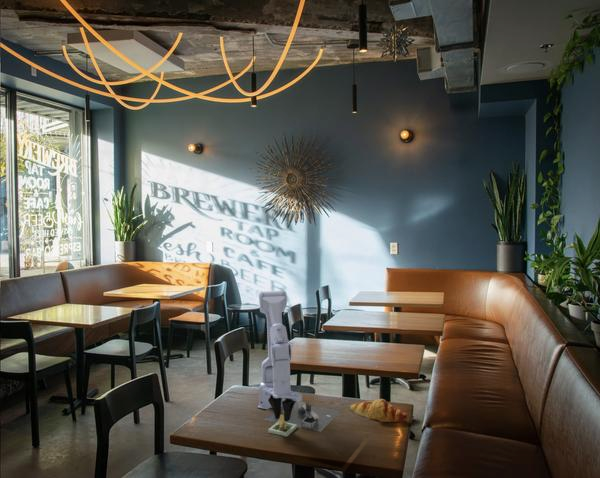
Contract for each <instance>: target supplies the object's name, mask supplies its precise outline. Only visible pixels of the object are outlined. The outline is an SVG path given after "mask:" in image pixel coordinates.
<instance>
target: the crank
mask: <svg viewBox="0 0 600 478" xmlns="http://www.w3.org/2000/svg"><path fill="white" fill-rule="evenodd" d="M297 403H298V402H297ZM311 405H312V404H310V403H309V402H303V401H301V402H299V403H298V412H307V413H308V414H309V415H310V416H311V417H312V418H313V419H319V416H318V415H317V414H315V413H314V412H313V411H312V410H311Z"/></svg>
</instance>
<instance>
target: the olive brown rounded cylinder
mask: <svg viewBox="0 0 600 478" xmlns="http://www.w3.org/2000/svg"><path fill="white" fill-rule="evenodd" d="M286 425H287V422H286V421H285V419H284V411H281V412H280V415H279V420H278V424H277V428H276V429H275V430H279V431H284V432H286V429H287V427H286Z"/></svg>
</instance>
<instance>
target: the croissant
mask: <svg viewBox="0 0 600 478" xmlns="http://www.w3.org/2000/svg"><path fill="white" fill-rule="evenodd" d="M350 410H351V411H352V412H353V413H355V414H356V415H359V416H361V417H365V418H367V419H369V420H377V421H378V423H385V422H386V423H387V422H389V423H394V422H395V423H397V422H402V421H404V420H406V419H407V418H408V414H407V412H403V411H402V410H401V409H399V408H396V407H394V406H393V404H392V403H389V402H387V400H386V399H383V398H379V399H376V400H365V401H362V402H357V403H354V404H351V405H350Z"/></svg>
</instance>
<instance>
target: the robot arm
mask: <svg viewBox="0 0 600 478" xmlns="http://www.w3.org/2000/svg"><path fill="white" fill-rule="evenodd" d="M258 297H259V298H258V299H259V300H258V301H259V311H260V313H261V314H264V315H265V317H266V328H267V329H266V331H267V332H266V334H267V335H266V336H267V354H268V355H267V357H266V358H265V359H264V360H263V361H262V362H261V366H260V367H261V368H260V373H261V382H260V384H259V385H258V386H259V388H258V406H257V408H259V409H263V410H269V409H271V408H272V411H273V412H274V415H275V418H276V419H278V418H279V415H280V412H281V407H282V406H283V409H284V419H285V421H286V422H287V421H288V420H290V416H291V412H292V409H293V406H294V404H295V402H296V403H300V402H303V395H302V394H301V393H297V392H294V391H293V390H291V360H292V355H293V354H292V345H291V342H290V340H289V338H288V332H287V327H286V326H285V325H284V324H283V318H282V317H283V316H282V315H283V314H282V313H283V312H284V311H285V309H286V307H287V306H288V305H287V304H288V296H287V292H286V290H285V289H284V290H272V291H271V290H270V291H262V290H261V291H260V292H259V295H258Z"/></svg>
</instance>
